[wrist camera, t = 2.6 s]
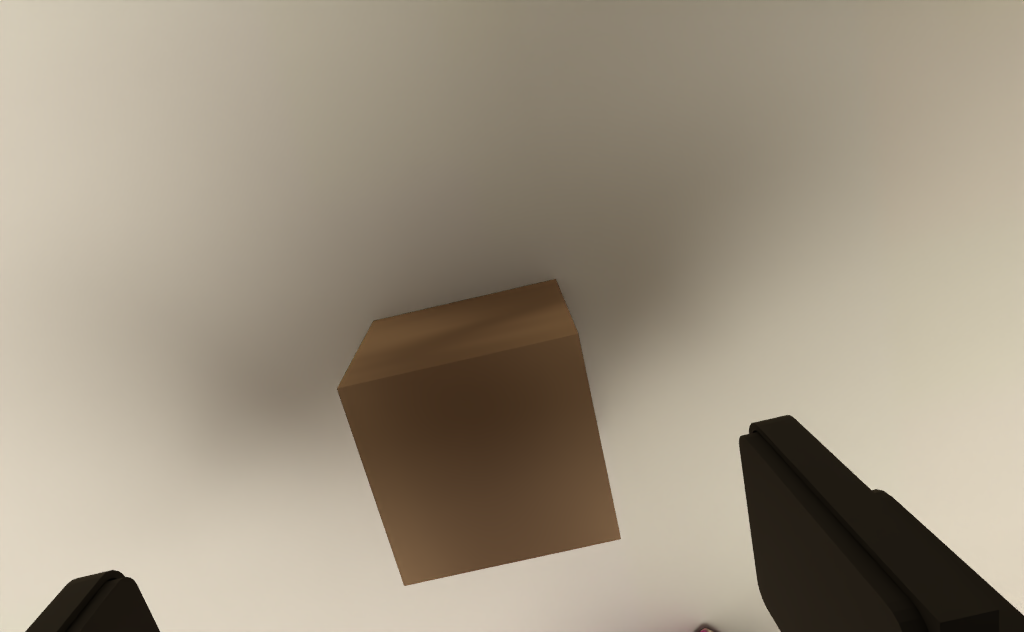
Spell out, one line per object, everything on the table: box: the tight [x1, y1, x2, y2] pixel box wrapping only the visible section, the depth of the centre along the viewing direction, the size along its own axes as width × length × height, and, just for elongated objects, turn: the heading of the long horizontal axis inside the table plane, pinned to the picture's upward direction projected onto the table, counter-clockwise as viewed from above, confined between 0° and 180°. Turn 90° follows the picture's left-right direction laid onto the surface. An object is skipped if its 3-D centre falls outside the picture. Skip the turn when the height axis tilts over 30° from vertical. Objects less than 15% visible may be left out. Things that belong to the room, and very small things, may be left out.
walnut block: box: [337, 279, 621, 586], centre depth 14 cm, size 4×4×4 cm
